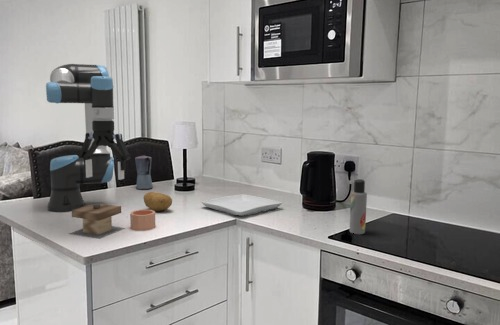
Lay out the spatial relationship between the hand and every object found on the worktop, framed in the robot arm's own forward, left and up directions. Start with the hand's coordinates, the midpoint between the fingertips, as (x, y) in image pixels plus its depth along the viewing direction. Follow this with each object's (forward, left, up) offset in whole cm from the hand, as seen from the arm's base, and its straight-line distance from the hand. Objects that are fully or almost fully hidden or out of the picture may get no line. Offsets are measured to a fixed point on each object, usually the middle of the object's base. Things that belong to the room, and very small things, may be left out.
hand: (105, 178), depth 156 cm
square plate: (+33, +52, -20) cm, 64 cm away
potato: (+1, +33, -20) cm, 38 cm away
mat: (-1, -3, -20) cm, 20 cm away
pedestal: (-1, -3, -19) cm, 20 cm away
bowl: (+11, +8, -20) cm, 24 cm away
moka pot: (-34, +72, -20) cm, 82 cm away
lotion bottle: (+87, +36, -20) cm, 96 cm away
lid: (-1, -3, -13) cm, 14 cm away
